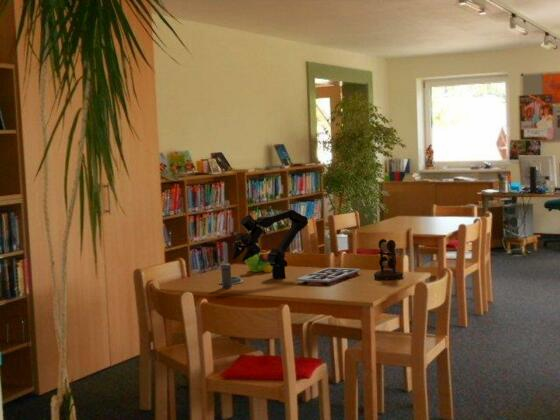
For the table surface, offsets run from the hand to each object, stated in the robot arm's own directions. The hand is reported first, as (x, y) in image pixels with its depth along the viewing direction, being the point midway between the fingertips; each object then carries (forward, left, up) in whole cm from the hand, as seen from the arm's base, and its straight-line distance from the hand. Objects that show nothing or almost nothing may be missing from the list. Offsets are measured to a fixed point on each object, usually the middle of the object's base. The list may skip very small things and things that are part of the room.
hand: (237, 260), depth 409 cm
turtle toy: (-13, -41, -14) cm, 45 cm away
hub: (+4, -10, -13) cm, 17 cm away
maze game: (-47, 0, -14) cm, 49 cm away
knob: (+6, +4, -13) cm, 15 cm away
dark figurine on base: (-77, +9, -13) cm, 78 cm away
